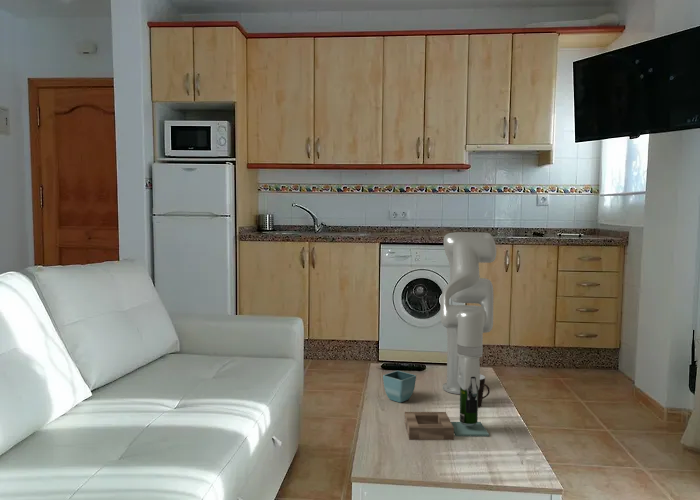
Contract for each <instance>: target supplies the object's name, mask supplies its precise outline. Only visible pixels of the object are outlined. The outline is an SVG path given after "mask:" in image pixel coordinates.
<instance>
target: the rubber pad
mask: <svg viewBox="0 0 700 500" xmlns="http://www.w3.org/2000/svg"><path fill="white" fill-rule="evenodd" d="M451 423H452V425H453V427H454V437H490V433H489V432H488V431H487V429H486V428H485V426H484V425H483V423H482V421H478V422H477V424H476V425H474V426H467V425H463V424H461V422H460V421H451Z"/></svg>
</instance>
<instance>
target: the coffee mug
mask: <svg viewBox="0 0 700 500" xmlns="http://www.w3.org/2000/svg"><path fill="white" fill-rule="evenodd" d="M485 382H486V376H485V375H483V374H481V373H480V387H479V390H478V408H480V406H481V407H482V404H483V399H485V398H487V397H488V396H489V395H490V387H489V386H488V384H486V383H485ZM485 388H486V390H487V393H486V394H485V395H484V390H485Z"/></svg>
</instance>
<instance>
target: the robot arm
mask: <svg viewBox="0 0 700 500" xmlns="http://www.w3.org/2000/svg"><path fill="white" fill-rule="evenodd" d="M443 248H444V249H443V250H444V253H445V256H446V258H447V260H448V264H449V282H448V283H447V284H446V286H445V287H444V288H443V290H442V292H441V297H440V323H441V325H442V326H443V327H444V328H446V333H447V334H446V335H447V341H446V342H447V345H446V346H447V348H446V349H447V353H446V382H445V383H443V384H442V389H443V391H445V392H448V393H450V394H455V395H460V386H461V388H462V389H463V390H467V399H466V413H476V412H477V390H479V387H480V374H481V373H480V372H481V370H480V369H481V367H480V366H481V364H480V358H482V357H483V354H484V353H483V351H484V350H483V349H484V348H483V347H484V346H483V345H484V344H483V341H484V340H483V339H484V337H483V335H484V333H490V332H492V330H493V327H494V286H493V283H492V281H491V280H490V279H488V278H483V277H480V264H481V263H484V264H485V263H487V264H488V263H489V264H490V263H493V262H495V260H496V258H497V245H496V242H495V239H494V237H493V235H492V234H491V233H489V232H480V231H479V232H473V231H472V232H470V231H469V232H468V231H465V232H464V231H459V232H458V231H456V232H449V233H446V234H445V235H444V237H443ZM450 299H451V301H453V302H454V303H458V304H450ZM459 303H460V304H459ZM467 304H469V305H467ZM470 304H478V305H470ZM476 385H477V386H476ZM469 387H471V389H468V388H469ZM469 391H472V392H471V393H470V395H469Z"/></svg>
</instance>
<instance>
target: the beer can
mask: <svg viewBox="0 0 700 500" xmlns="http://www.w3.org/2000/svg"><path fill="white" fill-rule="evenodd" d="M476 386H477V385H476ZM468 389H471V387H469V388H468ZM471 392H472V391H469V395H470V393H471ZM466 399H467V390H463V389H462V388H461V386H460V394H459V422H461V424H463V425H467V426H474V425H476V424H477V422H479V421H478V418H479V416H478V414H479V411H478V410H479V407H478V390H477V412H476V413H466Z"/></svg>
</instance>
